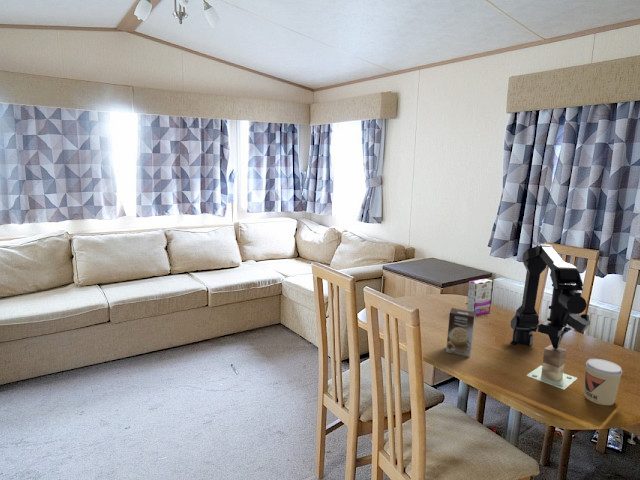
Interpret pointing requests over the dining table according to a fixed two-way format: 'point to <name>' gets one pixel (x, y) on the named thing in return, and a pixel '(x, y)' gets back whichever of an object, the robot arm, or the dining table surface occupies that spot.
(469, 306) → the candy bar box
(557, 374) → the oak block
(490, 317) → the dining table surface
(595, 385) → the cream tub with lid
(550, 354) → the walnut block
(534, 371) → the board
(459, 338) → the coffee box
